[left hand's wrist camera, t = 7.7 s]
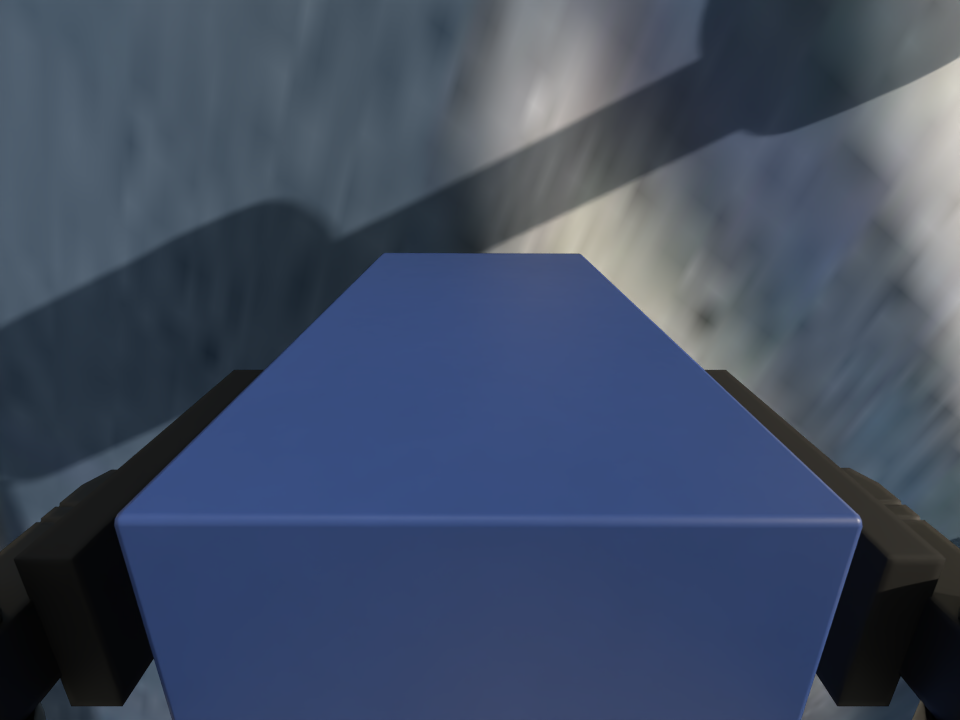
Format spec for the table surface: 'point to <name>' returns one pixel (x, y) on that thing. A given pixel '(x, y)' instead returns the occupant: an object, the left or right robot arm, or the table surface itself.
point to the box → (486, 519)
